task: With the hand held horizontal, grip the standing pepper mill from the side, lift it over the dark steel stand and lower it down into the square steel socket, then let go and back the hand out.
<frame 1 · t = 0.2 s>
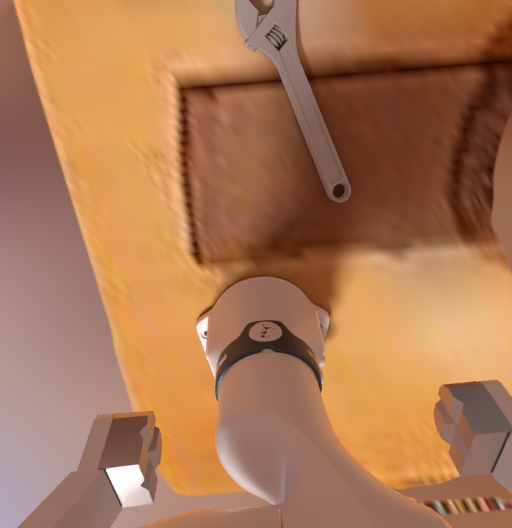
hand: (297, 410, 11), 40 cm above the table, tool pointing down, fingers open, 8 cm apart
adjustable wrench: (293, 101, 45), on the table, touching socket stand
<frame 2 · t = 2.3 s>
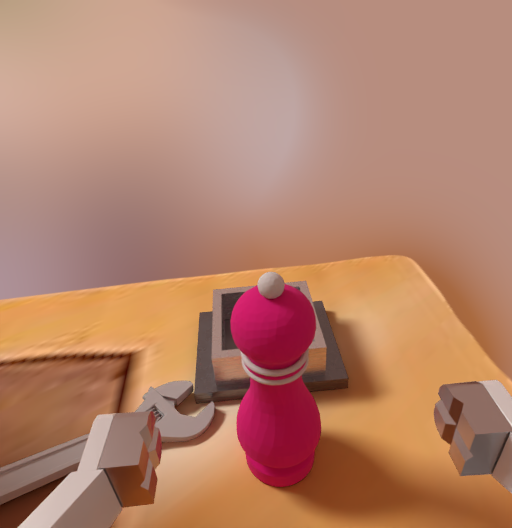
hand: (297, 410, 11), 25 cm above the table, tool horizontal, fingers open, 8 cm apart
pepper mill: (280, 454, 37), on the table
socket stand: (266, 351, 48), on the table
adjustable wrench: (85, 448, 38), on the table, touching socket stand
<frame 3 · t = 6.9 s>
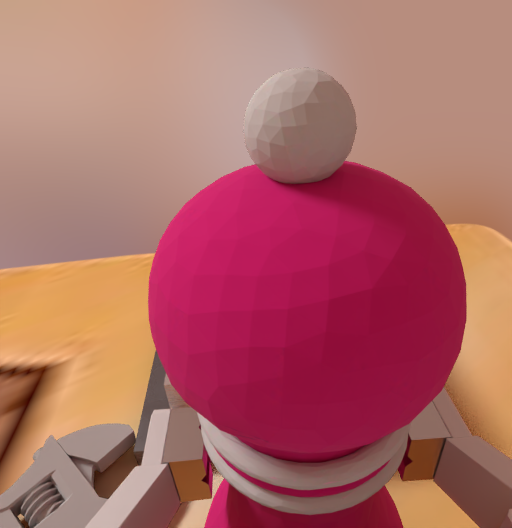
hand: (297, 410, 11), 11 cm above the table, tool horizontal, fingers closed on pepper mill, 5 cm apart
socket stand: (274, 366, 28), on the table
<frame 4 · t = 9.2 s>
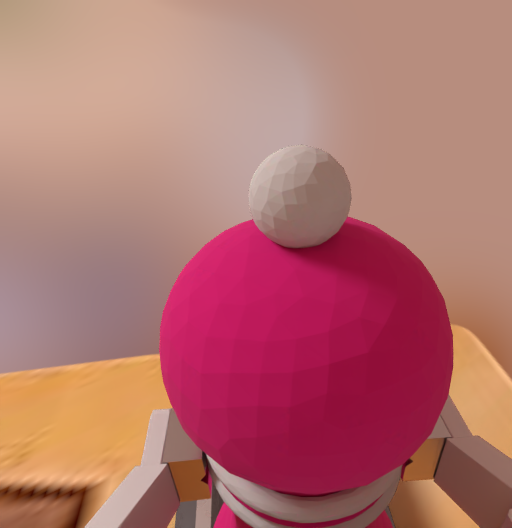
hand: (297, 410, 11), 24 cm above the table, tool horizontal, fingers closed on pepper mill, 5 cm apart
socket stand: (279, 492, 33), on the table
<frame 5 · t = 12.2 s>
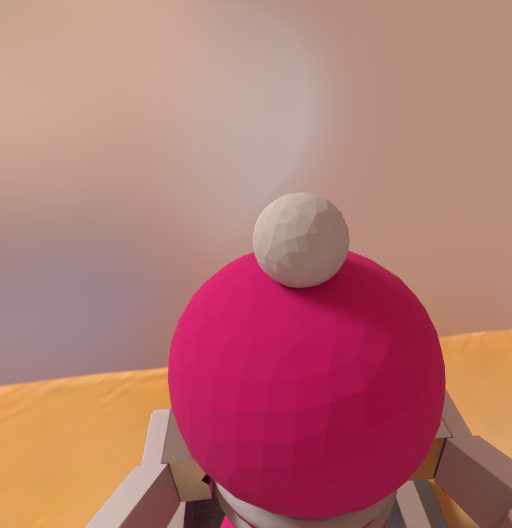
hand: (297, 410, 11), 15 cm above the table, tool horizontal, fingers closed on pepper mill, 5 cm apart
when the fingers open (14 cm above the table, at t = 12.9 s): pepper mill stays where it is, resting on socket stand.
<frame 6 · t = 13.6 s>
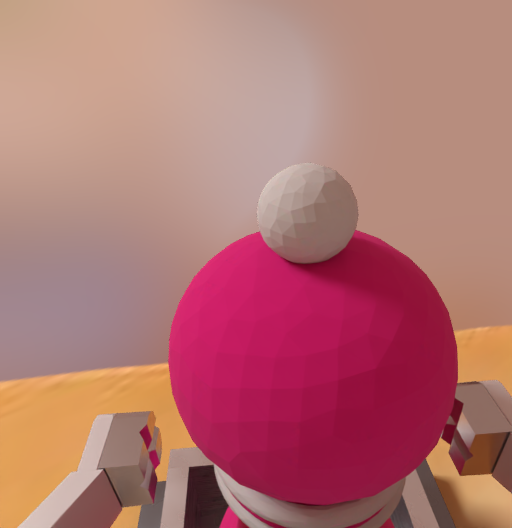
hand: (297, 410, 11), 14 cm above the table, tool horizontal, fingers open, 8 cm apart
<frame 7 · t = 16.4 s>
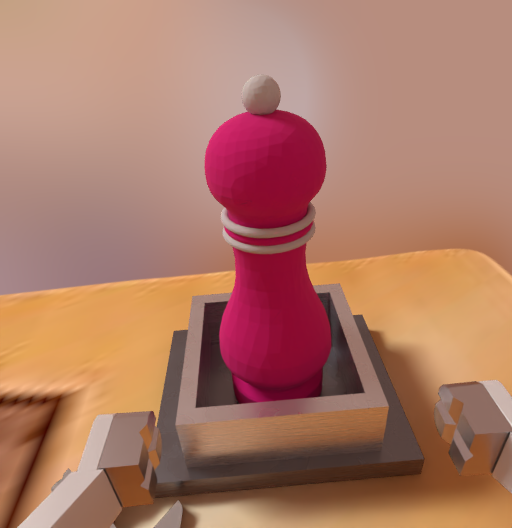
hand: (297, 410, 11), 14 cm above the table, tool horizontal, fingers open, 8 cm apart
pepper mill: (277, 385, 29), point 1 cm above the table, touching socket stand
socket stand: (276, 396, 29), on the table
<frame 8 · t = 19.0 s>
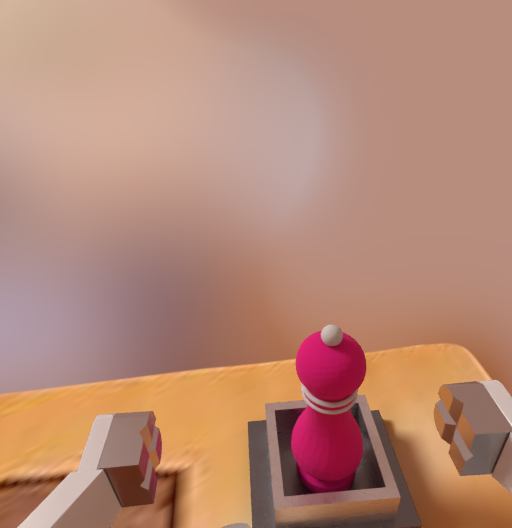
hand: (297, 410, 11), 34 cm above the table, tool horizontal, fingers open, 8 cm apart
pepper mill: (325, 469, 43), point 1 cm above the table, touching socket stand
socket stand: (323, 475, 44), on the table
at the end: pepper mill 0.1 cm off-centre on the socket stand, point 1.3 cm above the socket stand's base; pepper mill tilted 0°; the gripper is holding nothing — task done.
